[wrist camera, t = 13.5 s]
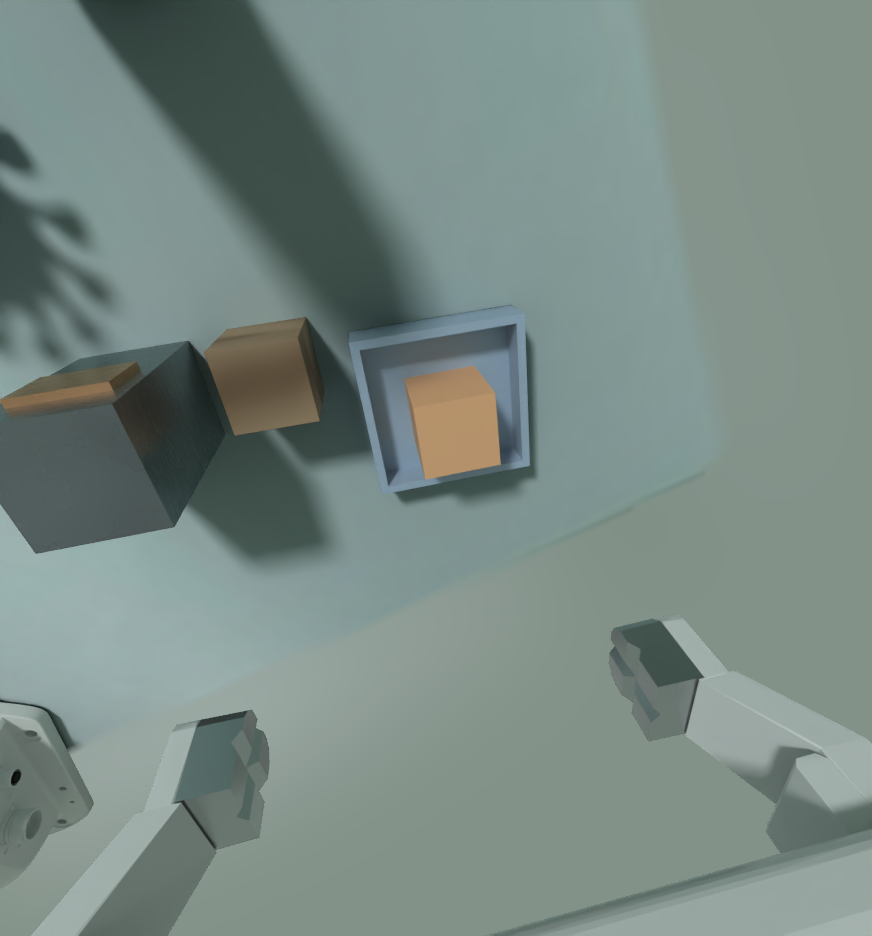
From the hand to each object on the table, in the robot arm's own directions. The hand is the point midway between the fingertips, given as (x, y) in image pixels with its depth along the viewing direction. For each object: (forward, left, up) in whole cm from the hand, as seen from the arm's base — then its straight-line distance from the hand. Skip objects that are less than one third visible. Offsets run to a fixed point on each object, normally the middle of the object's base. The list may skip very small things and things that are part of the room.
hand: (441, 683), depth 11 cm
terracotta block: (-2, -4, -22) cm, 22 cm away
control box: (+1, +13, -22) cm, 26 cm away
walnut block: (+2, +6, -22) cm, 23 cm away
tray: (-2, -4, -22) cm, 23 cm away
